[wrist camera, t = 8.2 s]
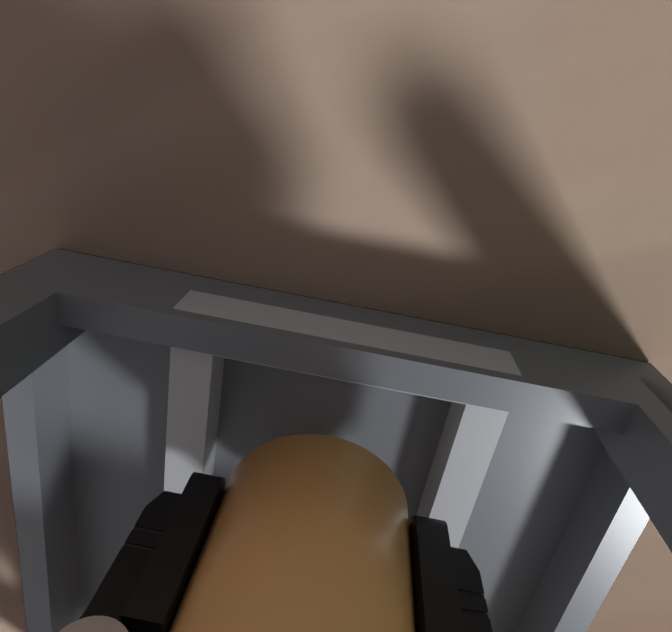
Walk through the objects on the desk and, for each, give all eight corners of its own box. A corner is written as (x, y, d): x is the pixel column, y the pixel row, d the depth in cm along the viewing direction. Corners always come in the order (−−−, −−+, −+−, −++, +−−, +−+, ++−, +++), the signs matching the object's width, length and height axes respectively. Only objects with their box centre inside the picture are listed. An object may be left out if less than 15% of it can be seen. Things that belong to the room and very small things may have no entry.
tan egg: (234, 417, 11) (98, 712, 6) (427, 454, 11) (471, 785, 6) (218, 557, 13) (102, 886, 8) (386, 590, 13) (390, 943, 8)
